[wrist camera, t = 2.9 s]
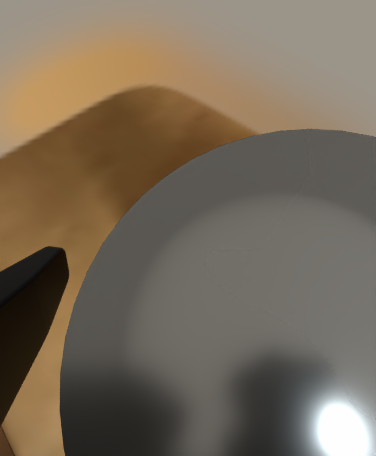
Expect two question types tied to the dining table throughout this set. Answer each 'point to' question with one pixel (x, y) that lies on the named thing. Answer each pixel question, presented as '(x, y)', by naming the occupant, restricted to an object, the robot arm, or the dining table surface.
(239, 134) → the dining table surface
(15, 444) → the dining table surface
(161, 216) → the pin
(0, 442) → the slot block
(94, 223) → the dining table surface
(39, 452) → the dining table surface
